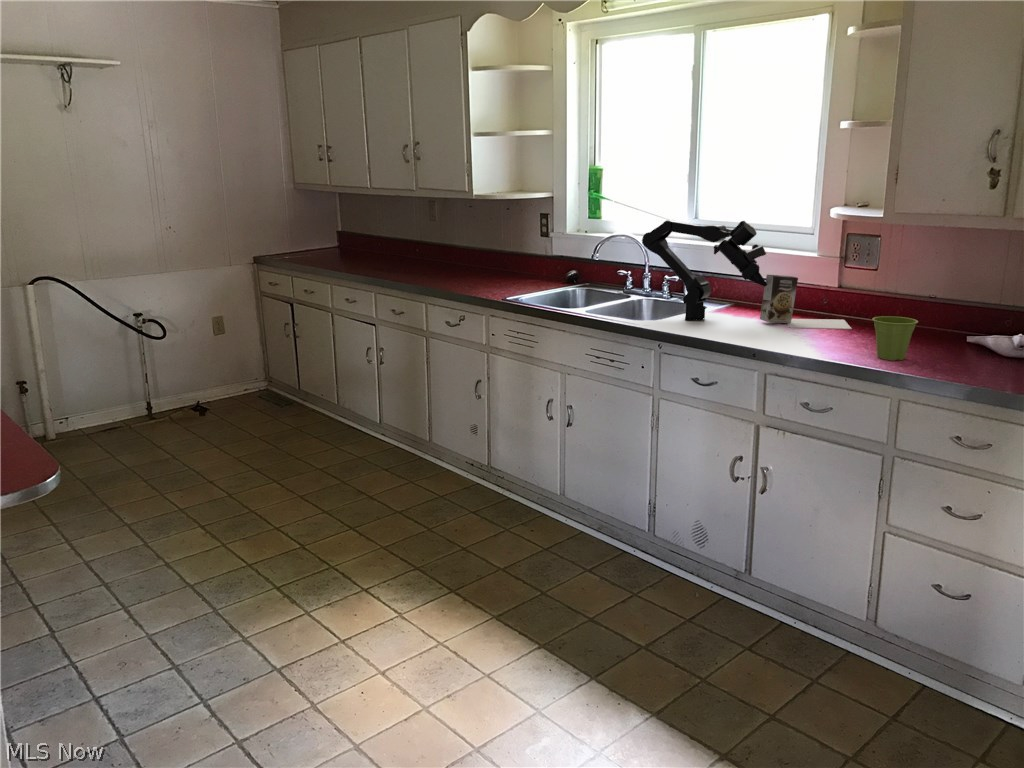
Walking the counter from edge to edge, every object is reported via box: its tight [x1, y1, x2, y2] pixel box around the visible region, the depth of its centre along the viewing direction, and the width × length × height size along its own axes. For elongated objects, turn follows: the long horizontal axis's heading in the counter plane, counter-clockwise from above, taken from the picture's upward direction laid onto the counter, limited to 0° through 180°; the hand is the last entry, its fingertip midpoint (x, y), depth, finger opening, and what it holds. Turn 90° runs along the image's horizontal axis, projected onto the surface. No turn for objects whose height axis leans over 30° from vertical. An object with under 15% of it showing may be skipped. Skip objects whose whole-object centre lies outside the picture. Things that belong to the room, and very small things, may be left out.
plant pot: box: [871, 315, 919, 361], centre depth 232 cm, size 12×12×11 cm
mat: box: [786, 318, 853, 330], centre depth 284 cm, size 20×16×1 cm
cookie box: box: [759, 274, 799, 324], centre depth 285 cm, size 9×6×16 cm
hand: (766, 285), depth 284 cm, fingers closed
